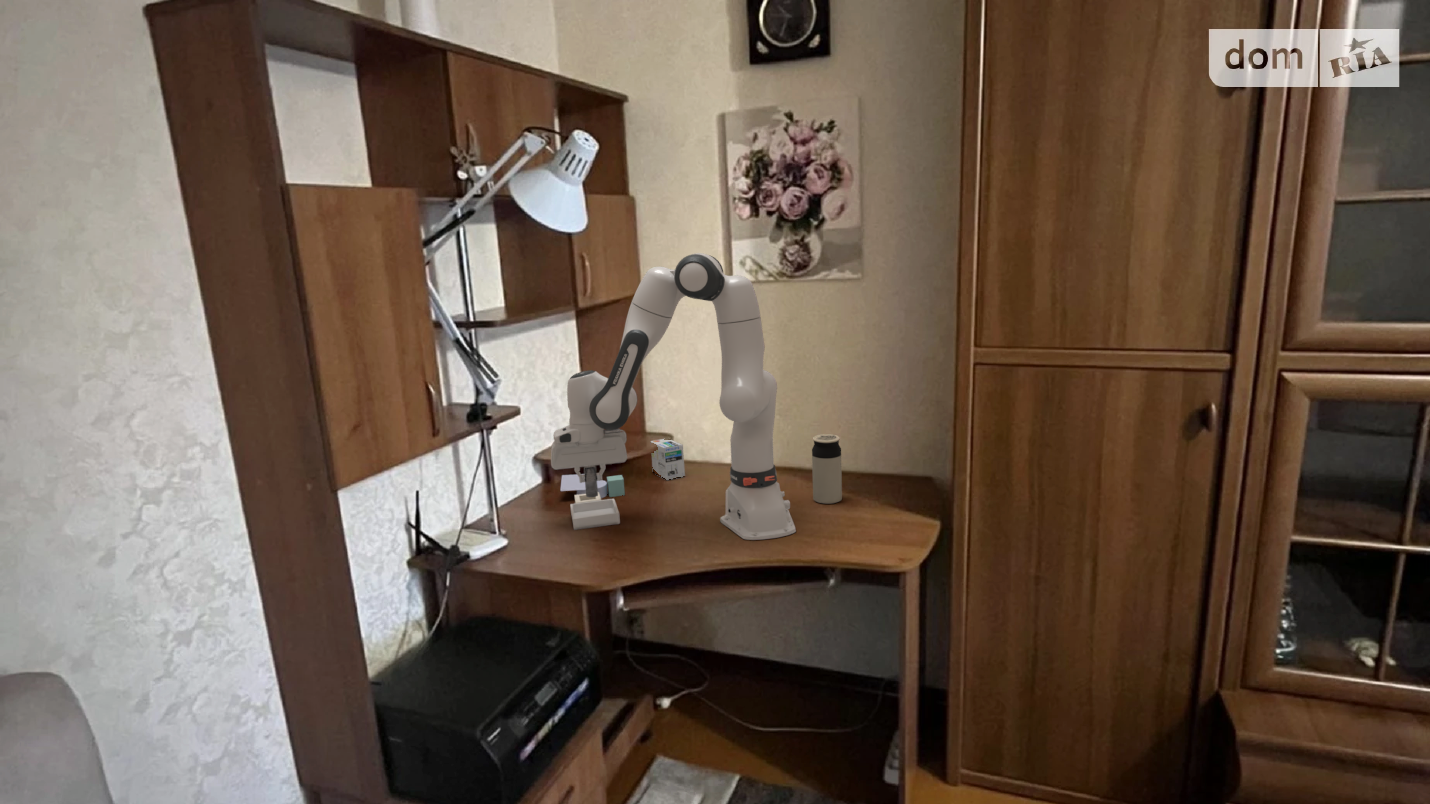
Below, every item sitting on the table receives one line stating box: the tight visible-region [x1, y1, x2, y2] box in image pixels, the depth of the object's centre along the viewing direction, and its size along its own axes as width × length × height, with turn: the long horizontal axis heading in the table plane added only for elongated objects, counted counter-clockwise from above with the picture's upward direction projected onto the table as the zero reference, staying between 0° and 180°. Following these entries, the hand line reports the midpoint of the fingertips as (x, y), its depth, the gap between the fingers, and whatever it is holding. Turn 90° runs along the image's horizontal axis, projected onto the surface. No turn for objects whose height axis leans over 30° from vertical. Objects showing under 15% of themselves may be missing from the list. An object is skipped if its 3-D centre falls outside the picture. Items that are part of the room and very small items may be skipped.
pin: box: [583, 465, 598, 497], centre depth 209 cm, size 3×3×8 cm
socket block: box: [574, 492, 602, 504], centre depth 220 cm, size 7×7×3 cm
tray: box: [569, 498, 621, 531], centre depth 211 cm, size 12×12×3 cm
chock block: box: [606, 474, 626, 498], centre depth 231 cm, size 4×4×5 cm
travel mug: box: [811, 433, 843, 505], centre depth 215 cm, size 8×8×18 cm
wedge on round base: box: [560, 473, 609, 499], centre depth 231 cm, size 9×7×13 cm
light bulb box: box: [650, 438, 686, 481], centre depth 246 cm, size 11×7×11 cm, turn 30°
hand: (590, 481), depth 209 cm, fingers closed on pin, 3 cm apart
